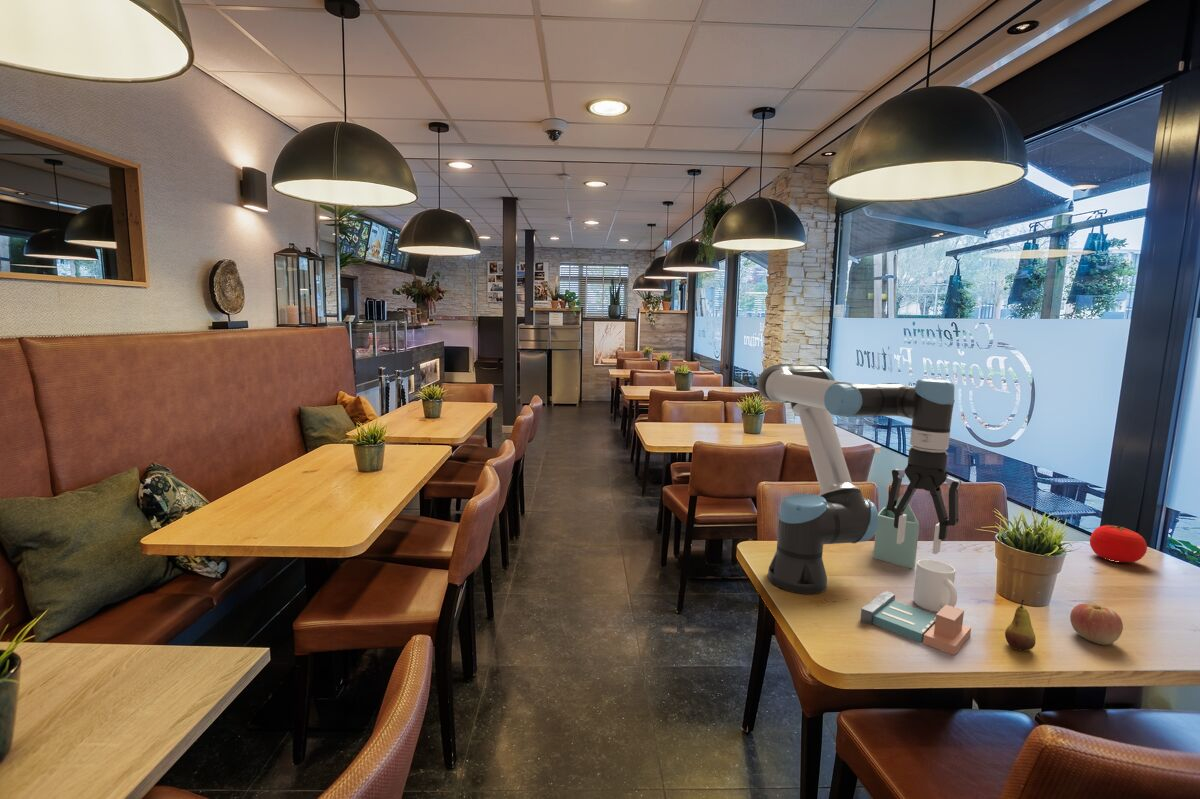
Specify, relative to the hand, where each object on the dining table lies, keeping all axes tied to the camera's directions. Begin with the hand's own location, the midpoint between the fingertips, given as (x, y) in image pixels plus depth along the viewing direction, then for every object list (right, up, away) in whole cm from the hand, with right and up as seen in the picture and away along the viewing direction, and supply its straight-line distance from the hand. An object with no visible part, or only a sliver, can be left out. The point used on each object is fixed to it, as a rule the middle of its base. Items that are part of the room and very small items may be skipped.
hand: (917, 547), depth 129 cm
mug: (+11, -18, +11) cm, 24 cm away
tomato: (+88, -17, +47) cm, 101 cm away
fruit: (+19, -21, -6) cm, 29 cm away
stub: (+5, -20, -3) cm, 21 cm away
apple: (+39, -21, -1) cm, 44 cm away
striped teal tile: (-2, -19, +4) cm, 19 cm away
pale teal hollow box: (+14, -15, +43) cm, 47 cm away
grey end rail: (-6, -18, +7) cm, 20 cm away
